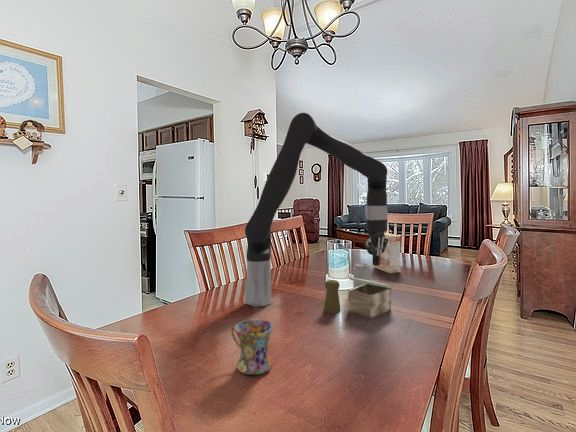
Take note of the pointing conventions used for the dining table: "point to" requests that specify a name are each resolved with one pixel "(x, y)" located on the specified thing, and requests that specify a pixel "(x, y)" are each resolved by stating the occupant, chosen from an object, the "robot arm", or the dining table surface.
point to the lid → (371, 282)
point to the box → (369, 300)
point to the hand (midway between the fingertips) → (376, 265)
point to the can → (361, 273)
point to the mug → (253, 346)
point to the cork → (332, 297)
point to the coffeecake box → (391, 254)
